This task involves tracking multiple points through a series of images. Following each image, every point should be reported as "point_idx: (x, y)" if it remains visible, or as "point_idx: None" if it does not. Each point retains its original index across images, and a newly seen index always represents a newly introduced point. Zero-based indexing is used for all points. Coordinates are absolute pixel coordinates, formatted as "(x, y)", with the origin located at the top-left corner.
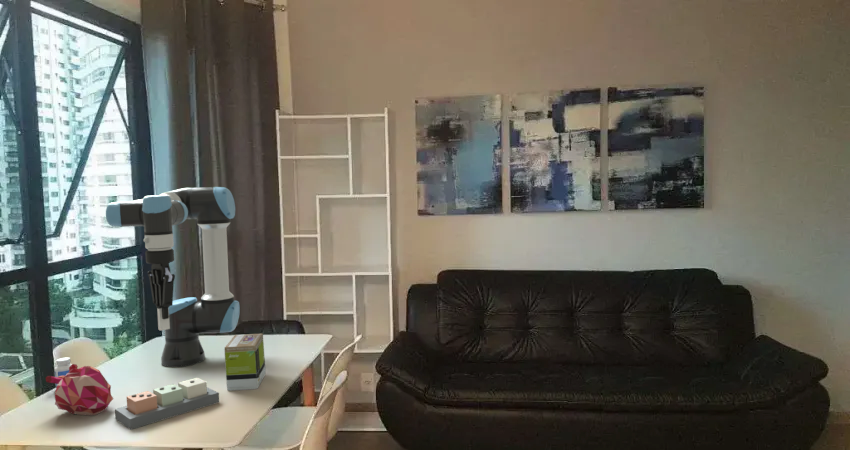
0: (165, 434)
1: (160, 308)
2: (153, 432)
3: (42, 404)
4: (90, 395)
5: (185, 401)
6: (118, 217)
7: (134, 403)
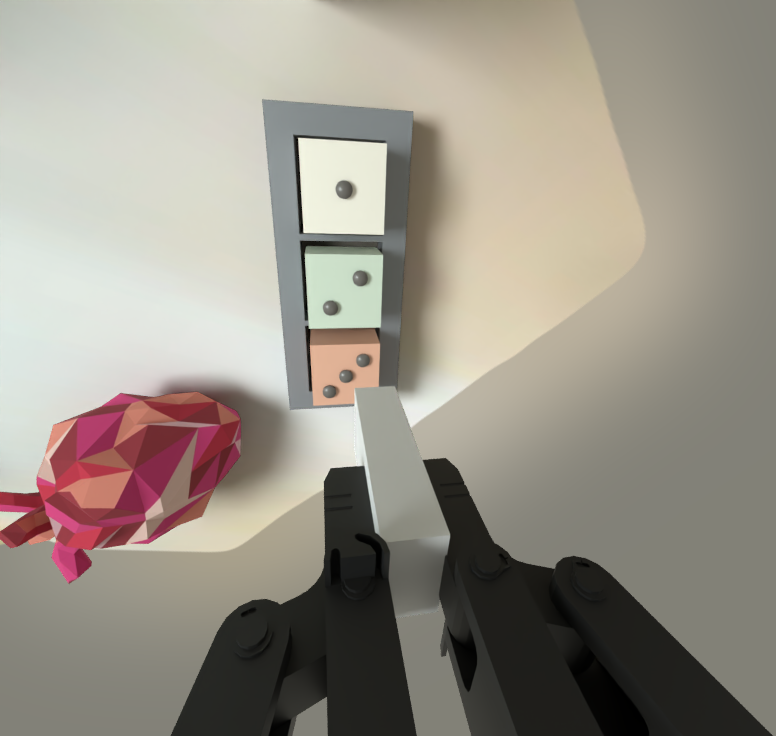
0: (483, 347)
1: (437, 601)
2: (449, 360)
3: (18, 491)
4: (214, 467)
5: (396, 248)
6: None
7: None
